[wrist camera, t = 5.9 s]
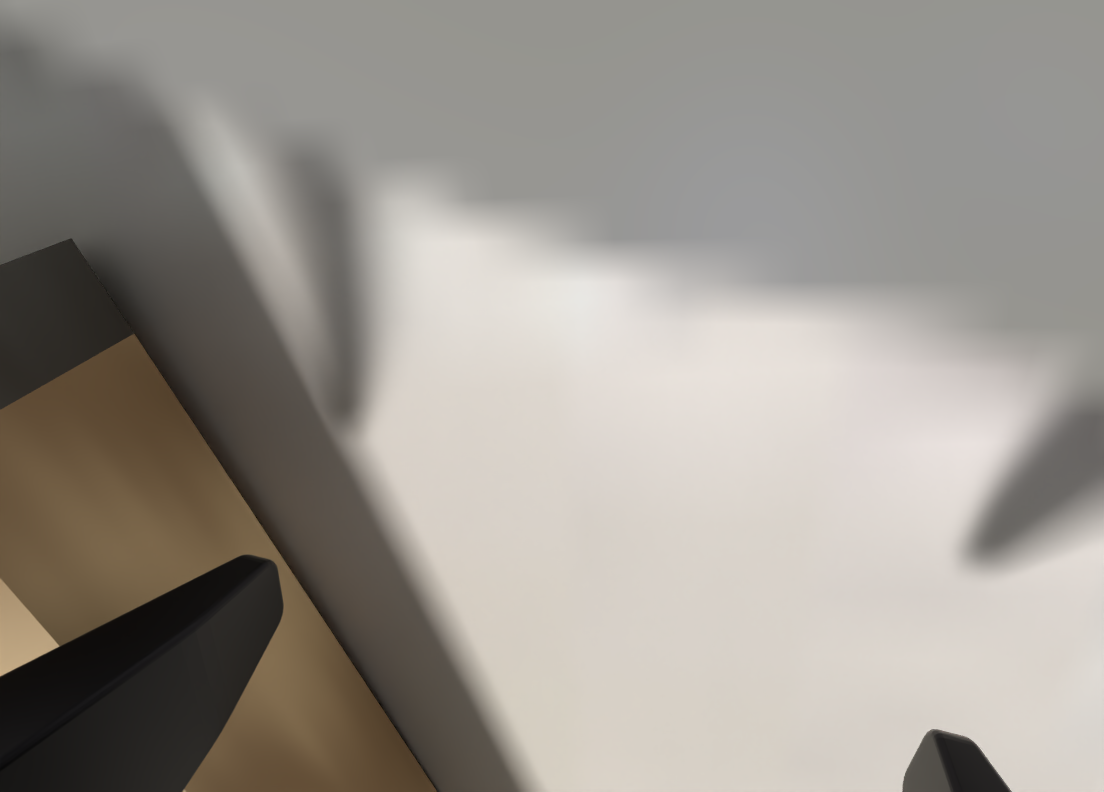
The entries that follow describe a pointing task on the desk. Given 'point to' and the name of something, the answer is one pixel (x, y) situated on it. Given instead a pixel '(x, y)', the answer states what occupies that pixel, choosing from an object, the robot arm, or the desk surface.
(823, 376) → the desk surface
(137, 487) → the hinged leg
